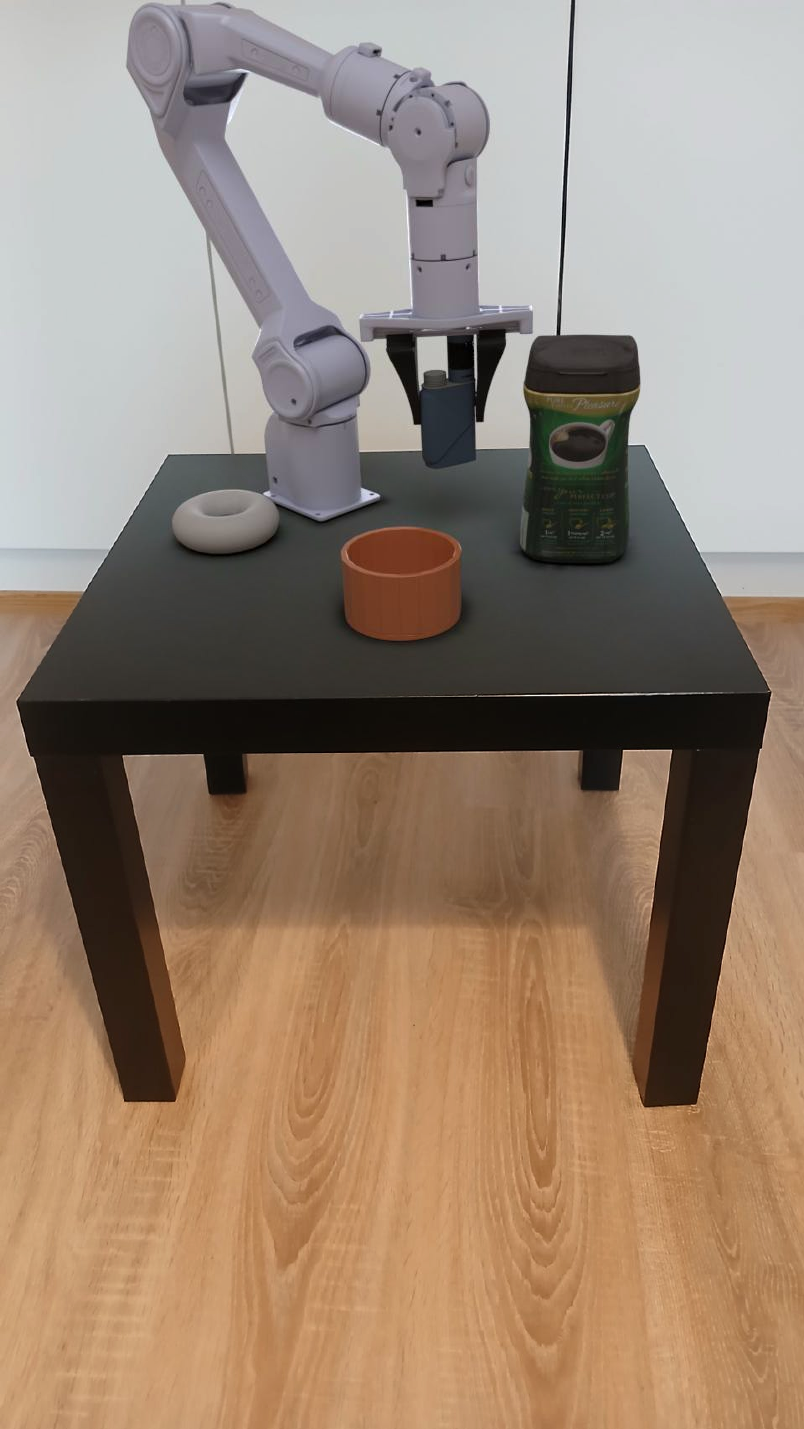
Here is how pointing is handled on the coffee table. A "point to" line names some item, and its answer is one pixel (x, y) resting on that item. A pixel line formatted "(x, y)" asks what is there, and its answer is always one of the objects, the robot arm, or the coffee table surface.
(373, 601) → the jar
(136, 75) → the robot arm
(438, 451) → the vaping device
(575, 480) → the coffee jar
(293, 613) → the coffee table surface
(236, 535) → the donut
